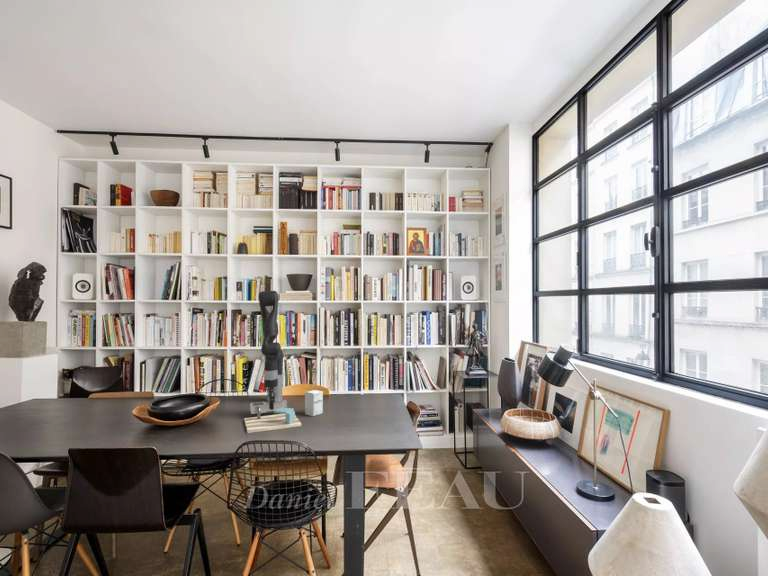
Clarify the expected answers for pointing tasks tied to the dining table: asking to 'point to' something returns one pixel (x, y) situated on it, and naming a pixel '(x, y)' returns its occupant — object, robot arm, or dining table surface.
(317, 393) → the supplement box
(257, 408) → the cylinder
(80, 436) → the dining table surface
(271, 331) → the robot arm
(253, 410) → the link
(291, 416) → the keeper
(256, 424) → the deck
